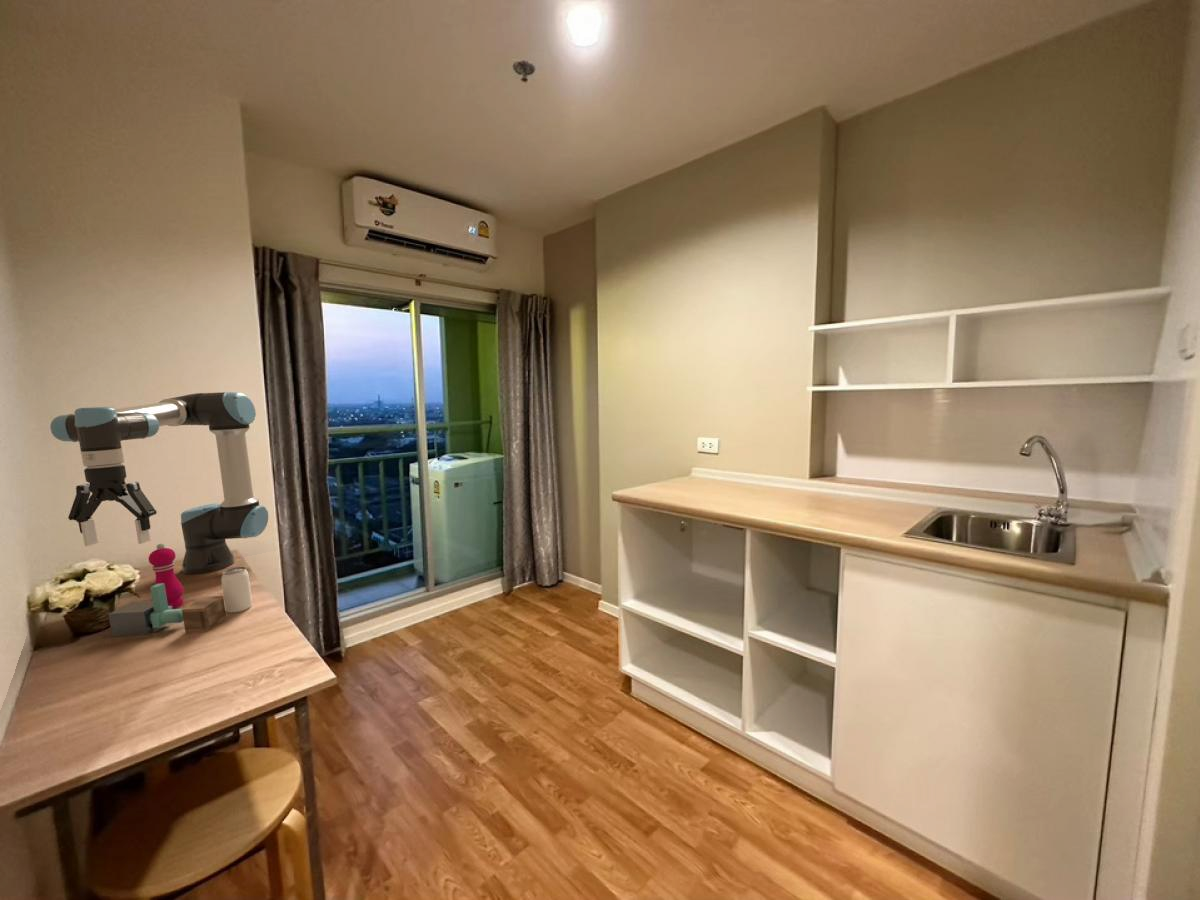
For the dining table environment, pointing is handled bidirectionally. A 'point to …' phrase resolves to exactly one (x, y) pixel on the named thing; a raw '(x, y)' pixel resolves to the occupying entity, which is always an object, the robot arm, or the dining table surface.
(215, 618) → the socket
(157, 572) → the pepper mill
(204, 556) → the robot arm
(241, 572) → the can
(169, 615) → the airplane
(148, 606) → the gray block
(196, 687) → the dining table surface
